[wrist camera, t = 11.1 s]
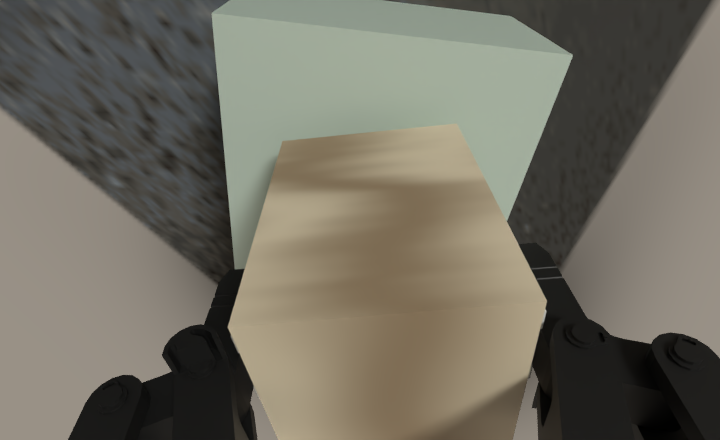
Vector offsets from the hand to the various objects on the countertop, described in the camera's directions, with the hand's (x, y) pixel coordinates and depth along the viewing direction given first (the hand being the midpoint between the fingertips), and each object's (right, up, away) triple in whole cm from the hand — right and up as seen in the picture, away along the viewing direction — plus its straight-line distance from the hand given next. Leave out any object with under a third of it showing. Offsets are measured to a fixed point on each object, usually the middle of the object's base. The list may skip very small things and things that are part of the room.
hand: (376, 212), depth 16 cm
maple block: (0, 0, 0) cm, 0 cm away
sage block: (0, +5, +7) cm, 9 cm away
